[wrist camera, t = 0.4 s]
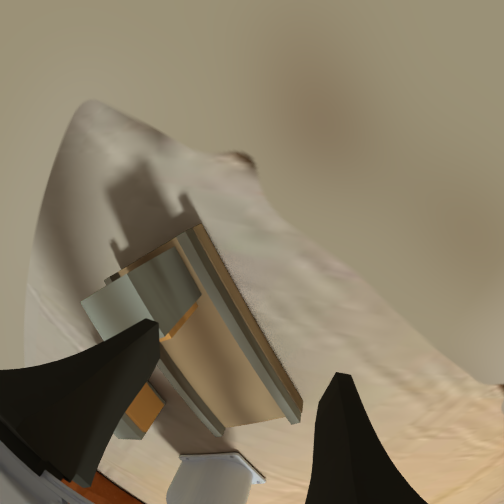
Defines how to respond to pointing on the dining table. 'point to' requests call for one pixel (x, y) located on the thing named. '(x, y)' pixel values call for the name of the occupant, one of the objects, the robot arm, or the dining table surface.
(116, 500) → the bread
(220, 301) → the jaw track
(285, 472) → the dining table surface
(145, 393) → the block
